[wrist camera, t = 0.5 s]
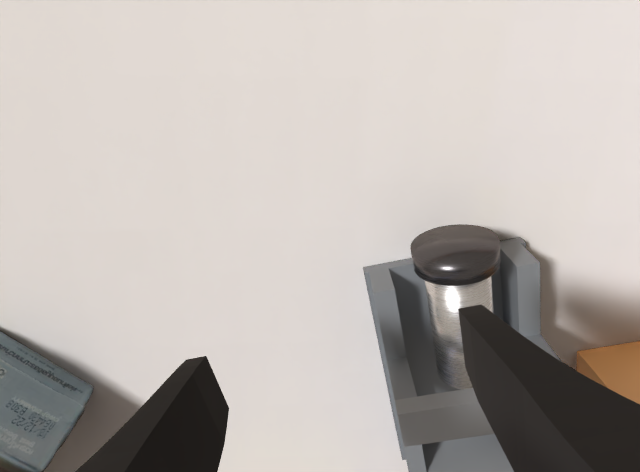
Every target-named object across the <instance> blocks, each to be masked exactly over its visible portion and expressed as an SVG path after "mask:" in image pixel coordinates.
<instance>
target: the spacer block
mask: <svg viewBox="0 0 640 472" xmlns="http://www.w3.org/2000/svg"><path fill="white" fill-rule="evenodd" d="M576 371H577V372H579V373H581V374H583V375H584V376H586V377H588V378H590V379H591V380H593V381H595V382H597V383H599V384H601V385H603V386H605V387H607V388H608V389H610V390H612V391H614V392H616V393H618V394H620V395H622V396H624V397H626V398H628V399H630V400H632V401H634V402H636V403H638V404H640V341H637V342H631V343H625V344H619V345H612V346H606V347H600V348H594V349H588V350H582V351H577V367H576Z"/></svg>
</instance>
